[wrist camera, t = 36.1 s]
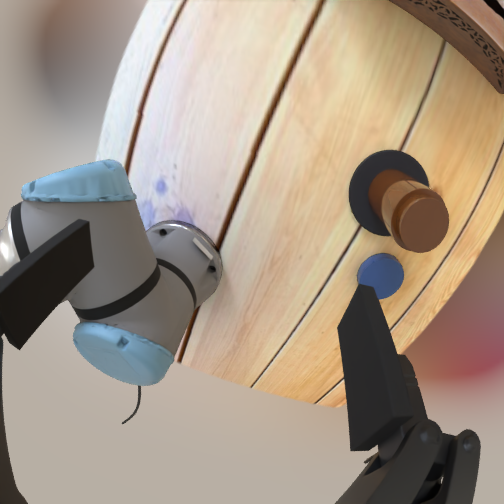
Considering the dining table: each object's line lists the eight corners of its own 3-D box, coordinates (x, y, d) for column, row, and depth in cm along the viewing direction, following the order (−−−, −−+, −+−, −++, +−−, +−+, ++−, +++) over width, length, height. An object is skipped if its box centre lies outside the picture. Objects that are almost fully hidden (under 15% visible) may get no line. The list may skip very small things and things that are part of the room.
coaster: (385, 250, 40) (386, 252, 39) (330, 194, 37) (330, 195, 36) (441, 195, 34) (443, 196, 33) (391, 131, 31) (392, 131, 31)
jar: (389, 229, 37) (418, 269, 27) (357, 194, 36) (381, 227, 26) (423, 195, 34) (462, 226, 24) (393, 157, 32) (430, 177, 22)
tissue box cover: (513, 41, 16) (547, 38, 7) (499, 93, 23) (538, 97, 14) (396, -54, 14) (416, -81, 5) (371, -10, 21) (393, -38, 12)
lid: (383, 243, 39) (387, 249, 38) (408, 272, 41) (412, 278, 39) (347, 275, 43) (349, 281, 41) (374, 300, 44) (376, 307, 43)
